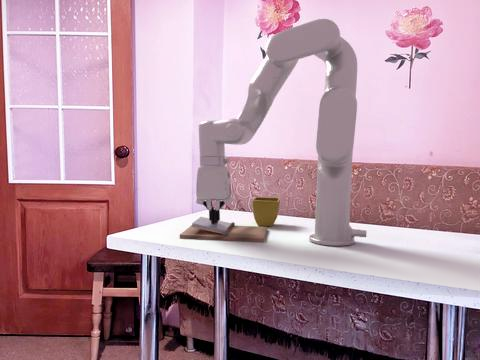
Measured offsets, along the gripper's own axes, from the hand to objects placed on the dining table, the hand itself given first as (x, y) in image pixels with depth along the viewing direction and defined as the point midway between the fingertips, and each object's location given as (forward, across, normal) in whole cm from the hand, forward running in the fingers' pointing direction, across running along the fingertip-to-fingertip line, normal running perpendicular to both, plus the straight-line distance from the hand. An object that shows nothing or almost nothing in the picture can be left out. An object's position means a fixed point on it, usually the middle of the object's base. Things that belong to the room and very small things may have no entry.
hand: (214, 222), depth 132 cm
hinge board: (+3, -3, 0) cm, 5 cm away
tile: (0, +1, 0) cm, 1 cm away
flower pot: (+4, -14, -18) cm, 23 cm away
